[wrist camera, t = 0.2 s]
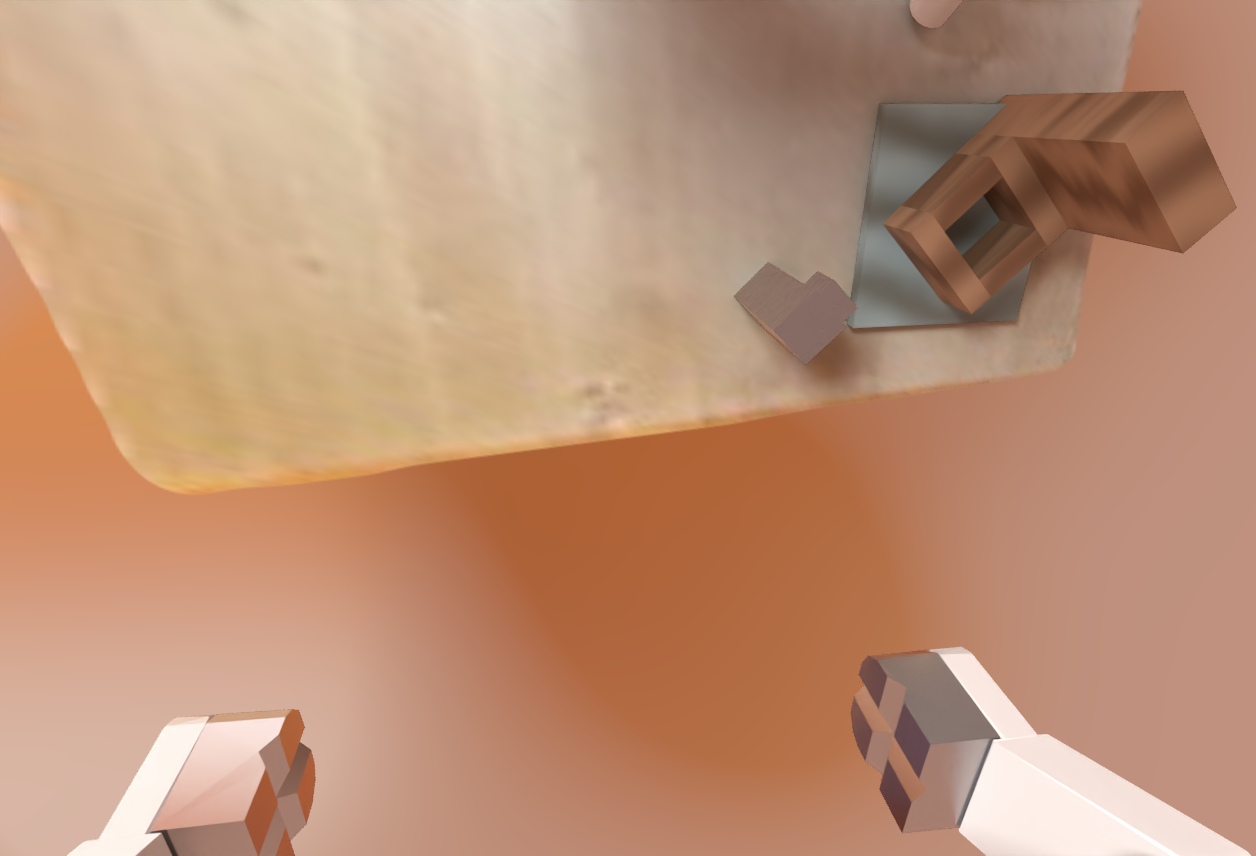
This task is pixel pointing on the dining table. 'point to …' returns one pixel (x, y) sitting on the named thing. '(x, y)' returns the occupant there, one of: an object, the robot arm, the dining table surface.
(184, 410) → the dining table surface
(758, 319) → the pin
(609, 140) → the dining table surface
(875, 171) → the wooden square ring bracket
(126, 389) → the dining table surface
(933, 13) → the wall hook
